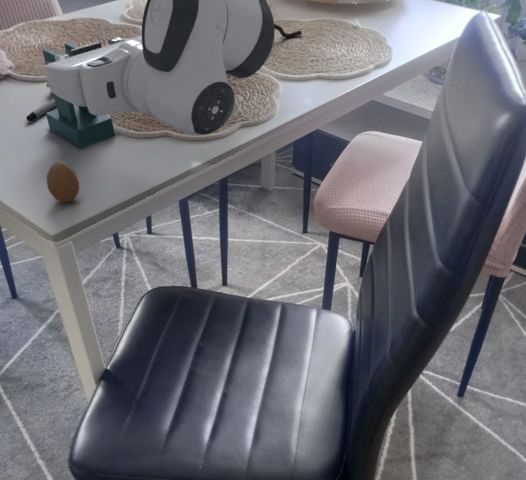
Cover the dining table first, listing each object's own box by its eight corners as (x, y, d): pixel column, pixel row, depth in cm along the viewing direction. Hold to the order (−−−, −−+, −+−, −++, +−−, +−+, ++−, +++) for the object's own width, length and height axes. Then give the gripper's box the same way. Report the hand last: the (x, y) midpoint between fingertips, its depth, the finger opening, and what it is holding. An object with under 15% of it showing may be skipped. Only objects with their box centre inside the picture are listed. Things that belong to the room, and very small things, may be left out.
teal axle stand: (114, 134, 104) (99, 51, 95) (80, 148, 101) (60, 63, 91) (83, 117, 109) (65, 36, 100) (49, 129, 106) (27, 46, 96)
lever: (104, 53, 92) (98, 36, 91) (76, 61, 89) (69, 44, 88) (78, 66, 99) (72, 51, 98) (52, 74, 97) (45, 58, 96)
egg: (72, 210, 87) (62, 173, 83) (46, 205, 88) (35, 168, 84) (88, 195, 90) (79, 158, 86) (62, 190, 91) (52, 153, 87)
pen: (25, 120, 108) (25, 114, 107) (78, 87, 119) (78, 81, 118) (31, 124, 108) (31, 117, 107) (83, 90, 119) (84, 84, 118)
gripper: (195, 33, 87) (138, 12, 94) (74, 72, 77) (20, 45, 84) (199, 78, 91) (144, 54, 98) (85, 120, 81) (33, 91, 88)
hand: (86, 51), depth 91 cm, fingers open, 8 cm apart
